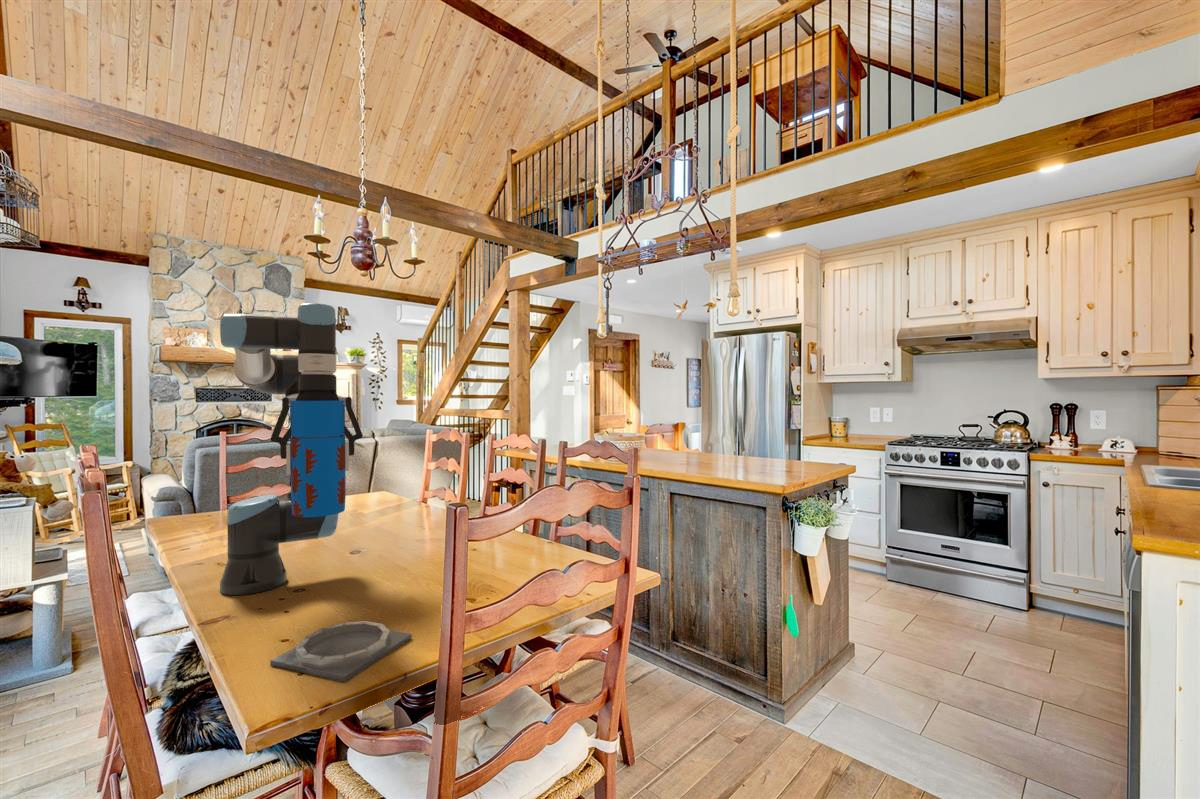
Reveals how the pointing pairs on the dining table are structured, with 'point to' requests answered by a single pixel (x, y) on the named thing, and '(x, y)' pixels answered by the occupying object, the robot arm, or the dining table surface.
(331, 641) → the collar dock
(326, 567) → the dining table surface
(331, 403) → the thermos
